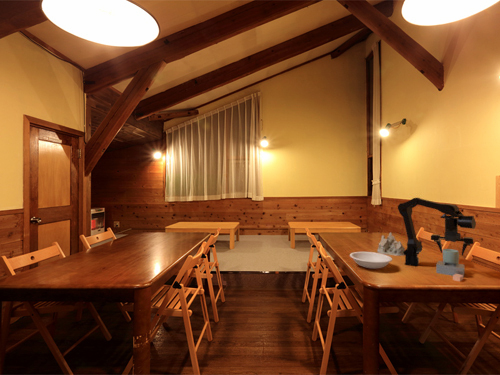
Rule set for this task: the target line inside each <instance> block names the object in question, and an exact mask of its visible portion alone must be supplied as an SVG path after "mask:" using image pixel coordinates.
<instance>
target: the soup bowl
mask: <svg viewBox="0 0 500 375" xmlns="http://www.w3.org/2000/svg"><path fill="white" fill-rule="evenodd" d="M349 258H352V259H353V261H354V262H355V263H356V264H357V265H359V266H360V267H363V268H367V269H376V270H377V269H382V268H384V267H386V266H387V265H388V264H389V263H390V262H392V261H393V258H392V257H391V255H388V254H382V253H379V252H374V251H355V252H351V253H350V254H349Z"/></svg>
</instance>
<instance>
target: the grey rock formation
mask: <svg viewBox="0 0 500 375" xmlns="http://www.w3.org/2000/svg"><path fill="white" fill-rule="evenodd" d="M392 233H393V232H389V234H388V235H387V237H386V236H385V235H381V239H380V241H379V243H378V247H377V252H376V253H380V254H384V255H387V256H396V257H400V256H401V257H402V256H404V257H405V255H404V253H403V251H405V250H406V248H405V247H404V245H403V243H402V242H401V241H397V240H396V238H395V236H394V235H393V234H392Z"/></svg>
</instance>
